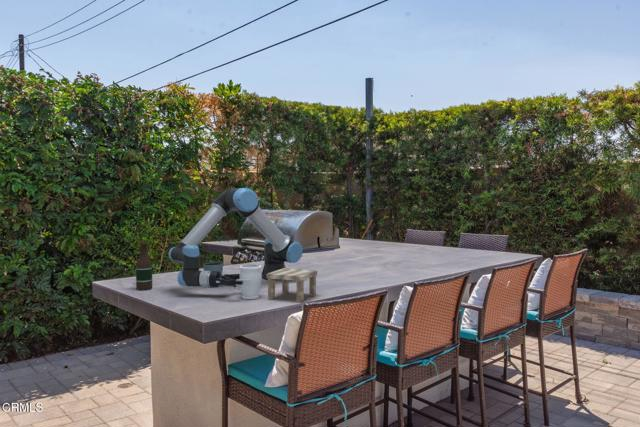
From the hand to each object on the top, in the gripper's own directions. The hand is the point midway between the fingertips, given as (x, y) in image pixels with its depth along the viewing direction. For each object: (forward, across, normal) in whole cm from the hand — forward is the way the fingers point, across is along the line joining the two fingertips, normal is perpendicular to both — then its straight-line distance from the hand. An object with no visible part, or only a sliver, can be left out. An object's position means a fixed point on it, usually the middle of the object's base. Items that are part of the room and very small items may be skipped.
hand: (254, 280), depth 229 cm
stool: (+18, -3, -8) cm, 20 cm away
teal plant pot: (-29, -24, -9) cm, 38 cm away
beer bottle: (-61, -12, -9) cm, 63 cm away
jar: (-2, 0, -9) cm, 9 cm away
